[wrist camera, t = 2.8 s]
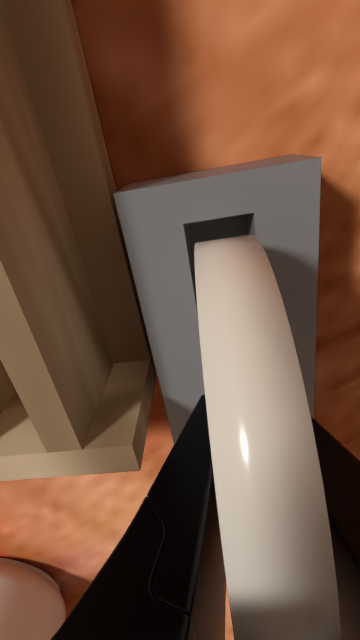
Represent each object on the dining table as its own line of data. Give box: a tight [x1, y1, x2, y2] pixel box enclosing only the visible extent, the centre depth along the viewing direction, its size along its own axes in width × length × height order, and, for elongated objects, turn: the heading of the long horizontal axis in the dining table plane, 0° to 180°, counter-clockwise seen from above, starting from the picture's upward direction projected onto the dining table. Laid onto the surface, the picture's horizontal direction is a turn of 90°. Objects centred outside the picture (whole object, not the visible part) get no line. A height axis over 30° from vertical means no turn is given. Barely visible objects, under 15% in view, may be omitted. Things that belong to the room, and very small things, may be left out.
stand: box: [113, 154, 321, 444], centre depth 12 cm, size 5×11×2 cm, turn 10°
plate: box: [194, 234, 341, 640], centre depth 8 cm, size 1×9×9 cm, turn 10°
